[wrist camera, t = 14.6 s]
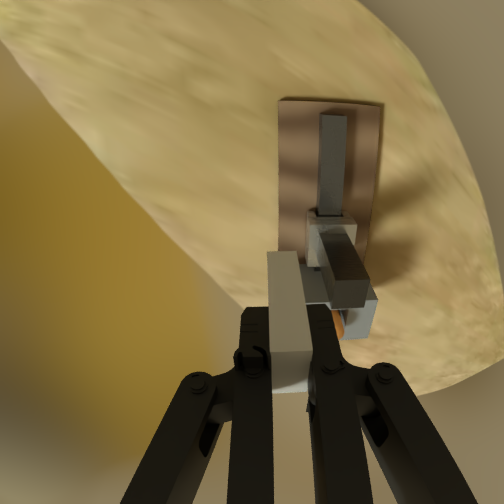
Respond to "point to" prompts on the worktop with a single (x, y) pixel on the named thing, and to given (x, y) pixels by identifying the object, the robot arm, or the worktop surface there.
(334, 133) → the rail
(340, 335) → the button
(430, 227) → the worktop surface
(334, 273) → the carriage
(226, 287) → the worktop surface
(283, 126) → the base board
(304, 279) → the end cabinet
